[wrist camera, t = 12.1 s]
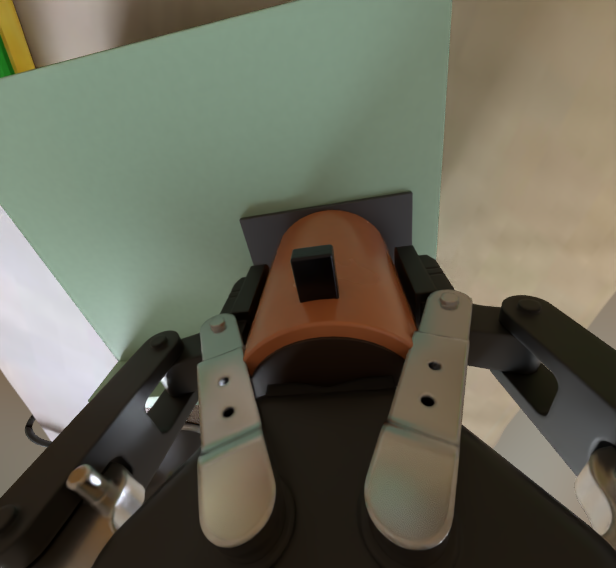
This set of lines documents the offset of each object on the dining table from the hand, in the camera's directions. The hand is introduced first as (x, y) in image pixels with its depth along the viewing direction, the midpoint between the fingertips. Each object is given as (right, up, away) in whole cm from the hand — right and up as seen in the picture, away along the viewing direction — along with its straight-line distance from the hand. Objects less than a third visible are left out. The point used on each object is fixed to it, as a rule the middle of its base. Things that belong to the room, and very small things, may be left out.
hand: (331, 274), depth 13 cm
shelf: (-4, +8, +11) cm, 14 cm away
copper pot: (0, +1, +1) cm, 1 cm away
